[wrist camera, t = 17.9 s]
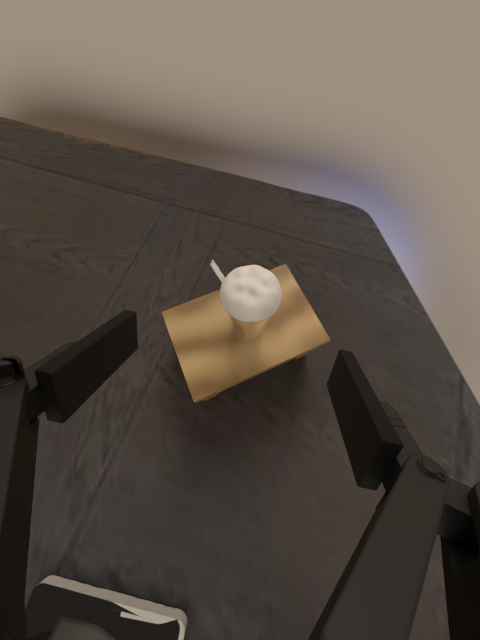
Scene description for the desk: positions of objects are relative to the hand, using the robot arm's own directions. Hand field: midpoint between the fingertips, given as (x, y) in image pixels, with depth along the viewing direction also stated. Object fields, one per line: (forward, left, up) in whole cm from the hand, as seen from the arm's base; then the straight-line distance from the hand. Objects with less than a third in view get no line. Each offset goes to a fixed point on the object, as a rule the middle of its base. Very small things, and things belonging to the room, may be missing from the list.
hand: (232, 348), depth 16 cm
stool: (-4, +3, -17) cm, 17 cm away
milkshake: (-4, +3, -9) cm, 10 cm away
